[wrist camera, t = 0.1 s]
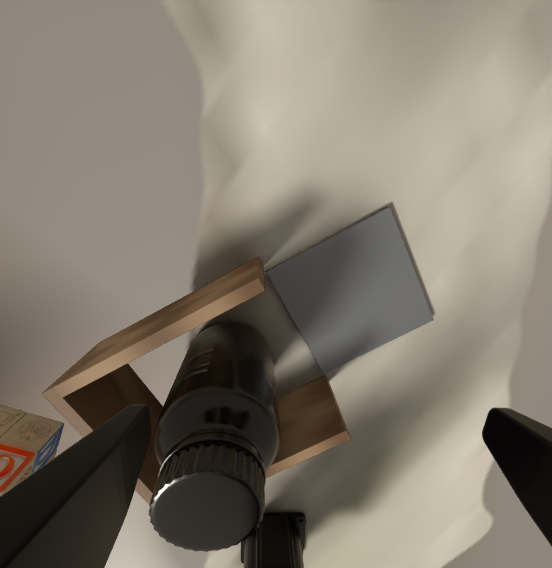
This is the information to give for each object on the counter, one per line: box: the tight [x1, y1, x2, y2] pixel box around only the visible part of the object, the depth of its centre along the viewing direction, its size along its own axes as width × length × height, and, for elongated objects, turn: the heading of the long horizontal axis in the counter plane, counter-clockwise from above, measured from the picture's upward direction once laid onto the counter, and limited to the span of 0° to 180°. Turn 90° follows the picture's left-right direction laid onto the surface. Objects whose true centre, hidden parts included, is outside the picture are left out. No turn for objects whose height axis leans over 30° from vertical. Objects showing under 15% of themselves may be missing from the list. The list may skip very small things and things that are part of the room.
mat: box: [266, 207, 434, 374], centre depth 22 cm, size 10×10×1 cm
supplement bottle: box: [149, 322, 281, 552], centre depth 17 cm, size 7×7×12 cm
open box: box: [42, 257, 351, 505], centre depth 20 cm, size 14×13×6 cm
